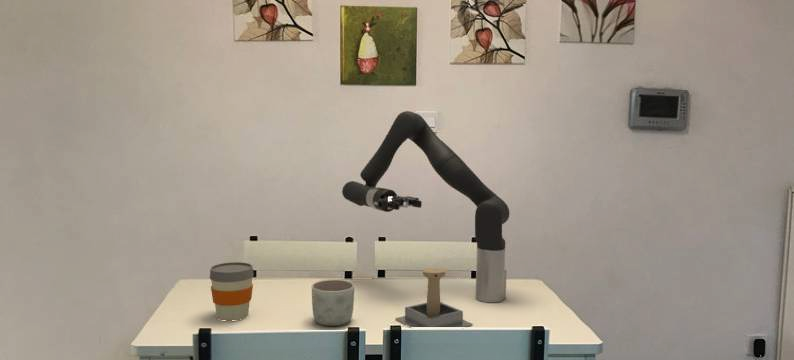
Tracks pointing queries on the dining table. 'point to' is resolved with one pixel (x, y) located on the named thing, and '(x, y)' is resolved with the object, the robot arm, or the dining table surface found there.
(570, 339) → the dining table surface
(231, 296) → the reusable coffee cup
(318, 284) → the planter
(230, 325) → the dining table surface
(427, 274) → the handle
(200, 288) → the dining table surface
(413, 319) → the grey square tray
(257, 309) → the dining table surface
